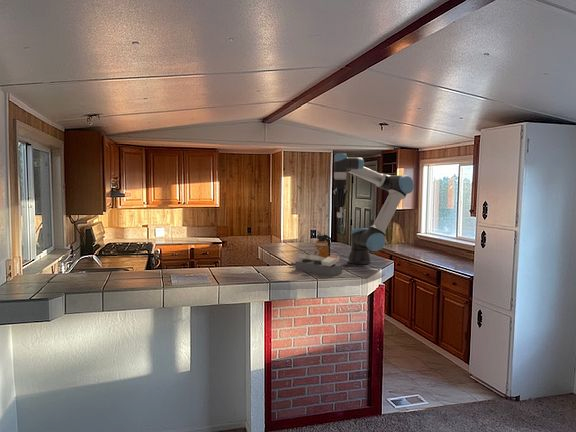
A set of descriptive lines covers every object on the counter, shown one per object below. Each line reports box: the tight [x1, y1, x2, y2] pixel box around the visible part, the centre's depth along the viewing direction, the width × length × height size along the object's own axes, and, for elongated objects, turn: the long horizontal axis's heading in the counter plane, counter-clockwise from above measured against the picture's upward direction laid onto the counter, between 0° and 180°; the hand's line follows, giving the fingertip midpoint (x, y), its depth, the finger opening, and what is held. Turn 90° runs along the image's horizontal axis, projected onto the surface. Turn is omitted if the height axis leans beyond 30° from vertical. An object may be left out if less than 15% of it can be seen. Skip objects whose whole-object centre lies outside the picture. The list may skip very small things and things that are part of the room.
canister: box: [314, 234, 332, 261], centre depth 288 cm, size 9×11×20 cm
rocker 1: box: [297, 252, 312, 260], centre depth 276 cm, size 10×6×3 cm, turn 140°
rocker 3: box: [321, 254, 341, 266], centre depth 264 cm, size 10×6×3 cm, turn 139°
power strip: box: [290, 258, 343, 277], centre depth 273 cm, size 11×35×6 cm, turn 49°
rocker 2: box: [309, 254, 326, 262], centre depth 270 cm, size 10×6×3 cm, turn 140°
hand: (339, 217), depth 273 cm, fingers closed
